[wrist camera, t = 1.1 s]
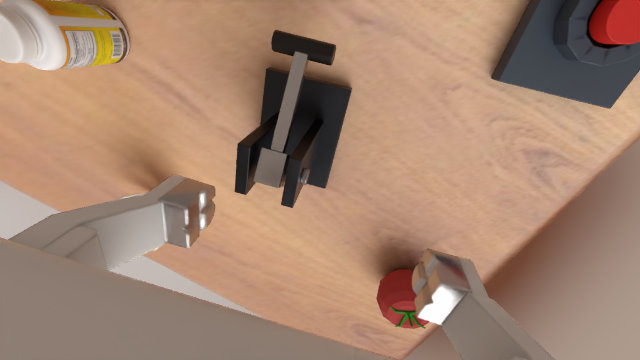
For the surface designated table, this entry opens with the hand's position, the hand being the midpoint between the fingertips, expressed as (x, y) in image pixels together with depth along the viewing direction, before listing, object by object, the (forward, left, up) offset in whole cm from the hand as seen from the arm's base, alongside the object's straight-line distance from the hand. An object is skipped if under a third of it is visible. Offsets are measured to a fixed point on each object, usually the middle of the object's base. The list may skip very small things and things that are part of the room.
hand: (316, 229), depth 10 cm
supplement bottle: (-1, -28, -22) cm, 35 cm away
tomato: (+22, +14, -22) cm, 34 cm away
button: (-12, +17, -18) cm, 28 cm away
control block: (-12, +17, -21) cm, 30 cm away
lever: (+1, -5, -14) cm, 15 cm away
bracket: (+4, -5, -21) cm, 22 cm away
